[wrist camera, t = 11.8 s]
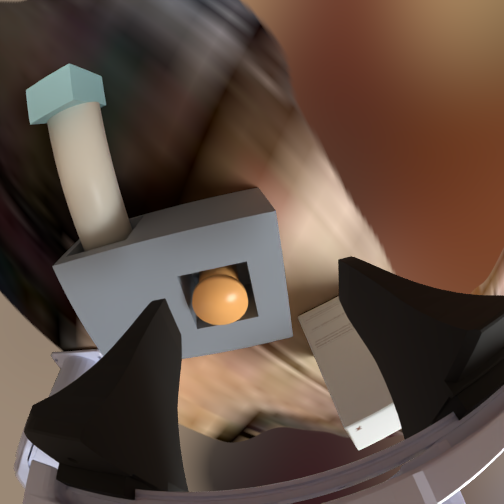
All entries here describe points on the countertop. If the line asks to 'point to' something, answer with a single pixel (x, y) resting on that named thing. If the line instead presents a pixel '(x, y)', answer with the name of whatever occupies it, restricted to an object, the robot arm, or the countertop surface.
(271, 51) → the countertop surface
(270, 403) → the countertop surface
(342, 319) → the supplement box
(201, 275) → the plunger
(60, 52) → the countertop surface
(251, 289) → the housing
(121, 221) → the cartridge
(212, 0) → the countertop surface
